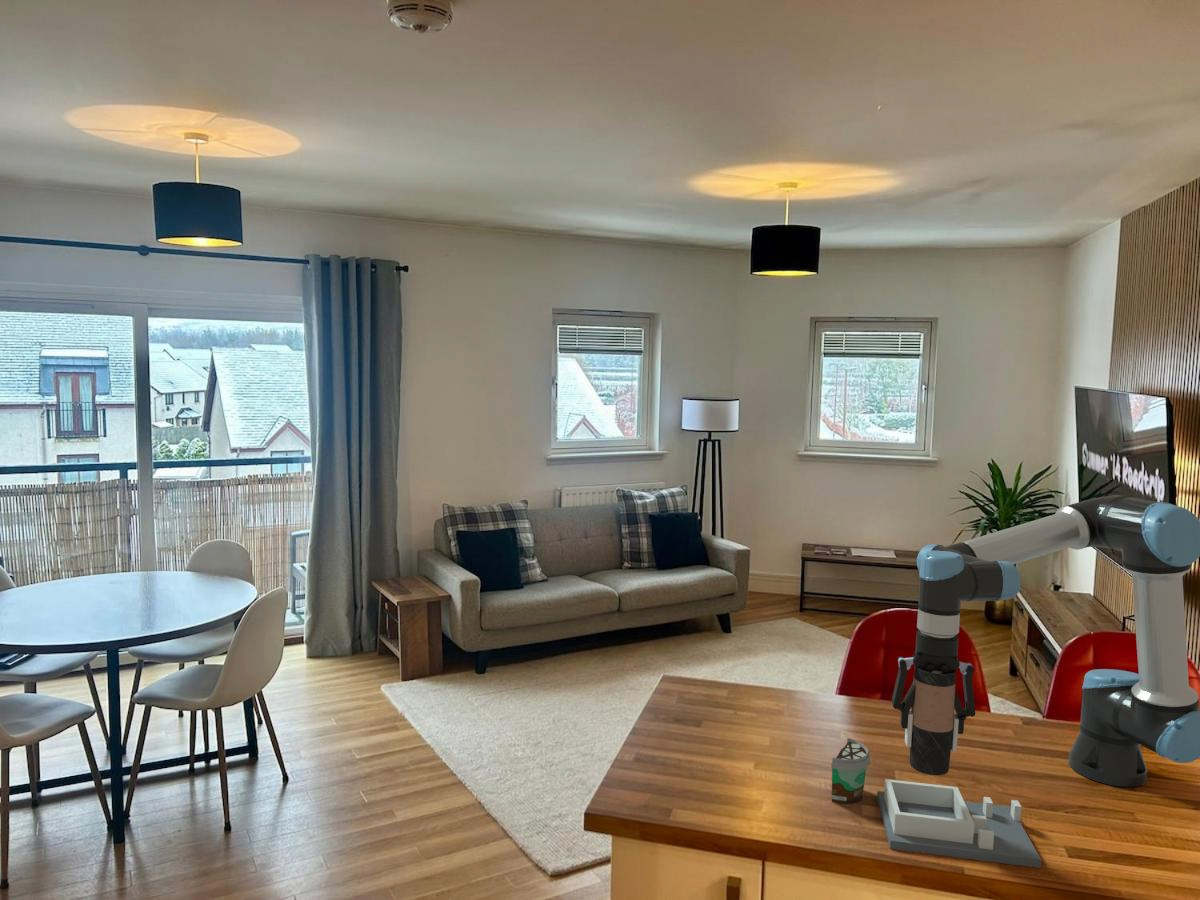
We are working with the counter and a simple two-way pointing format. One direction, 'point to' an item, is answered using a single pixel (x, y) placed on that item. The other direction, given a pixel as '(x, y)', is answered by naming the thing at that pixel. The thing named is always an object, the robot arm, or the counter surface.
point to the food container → (849, 773)
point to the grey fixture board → (1007, 835)
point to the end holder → (928, 824)
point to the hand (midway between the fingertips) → (930, 746)
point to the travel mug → (932, 721)
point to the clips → (980, 822)
